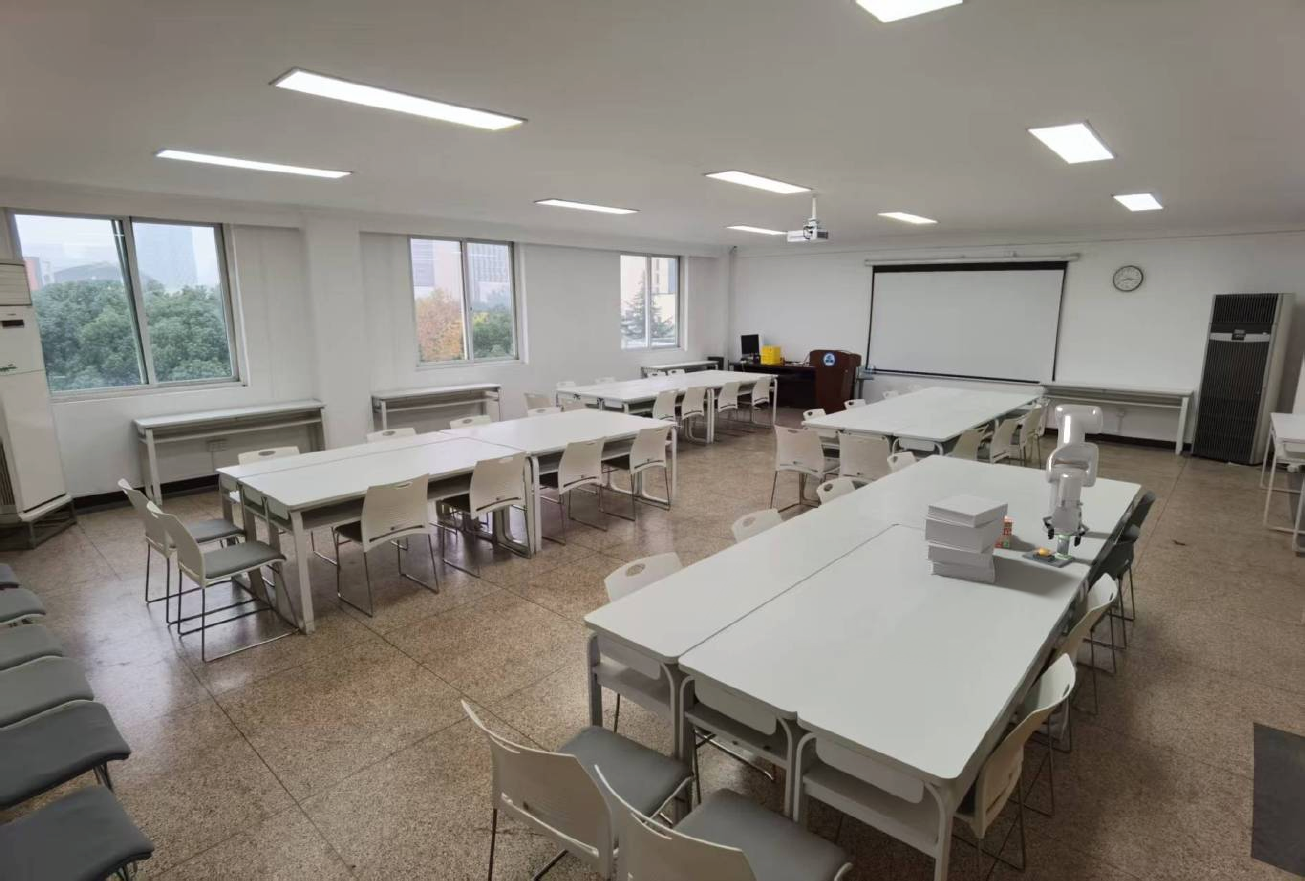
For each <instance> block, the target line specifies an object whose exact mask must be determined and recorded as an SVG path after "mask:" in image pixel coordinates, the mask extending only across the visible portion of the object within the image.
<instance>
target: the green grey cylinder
mask: <svg viewBox="0 0 1305 881" xmlns="http://www.w3.org/2000/svg"><path fill="white" fill-rule="evenodd" d="M1070 541H1071V535H1067V534H1059V535H1058V538H1057V547H1056V552H1057V553H1056V556H1057V557H1060V558H1067V557H1068V555H1069V551H1070V550H1069V548H1070Z"/></svg>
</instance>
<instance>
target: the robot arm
mask: <svg viewBox="0 0 1305 881" xmlns="http://www.w3.org/2000/svg"><path fill="white" fill-rule="evenodd" d="M1053 414H1054V415H1053V416H1054V419H1055V423H1056V425H1057V429H1058V430H1057V431H1058V434H1057V435H1058V436H1057V444H1056V448H1055V449H1053V450H1052V451H1051V452H1050V454H1049V456H1048V458H1047V460H1046V465H1045V466H1046V467H1045V480H1046V482H1047V483H1048V484H1050V494H1049V502H1048V512H1047V516H1044V517H1042V522H1043V523H1044V524H1043V526H1042V531H1044V532H1045V533H1047V537H1048V540H1049V541H1050V540H1053V539H1054V538H1055V535H1058V536H1059V534H1067V535H1069V536H1071V535H1075V537H1074V539H1073V540H1074V541H1073V547H1075V548H1076V547H1078V546H1079V545H1081V541H1082V537H1083V536H1085V535H1086V534H1088V532H1090V530H1091V528H1090V527H1089V526H1087V525H1086V524H1084V523H1083V511H1082V507H1083V506H1084V502H1082V501H1081V494H1082V493H1081V492H1082V488H1093V487H1094V486H1095V484H1096V480H1097V473H1098V465H1099V455H1100V451H1099V446H1098V445H1097V444H1096V443H1095V442H1094V443H1093V442H1089V441H1088V442H1087V441H1085V438H1086V436H1085V435H1086V434H1095V435H1096V434H1099V433H1101V432H1102V430H1103V426H1104V419H1103V418H1104V417H1103V416H1104V415H1103V411H1102V409H1101V406H1096V405H1083V404H1067V403H1065V404H1059V405H1057V406H1055V408H1054V412H1053ZM1056 460H1059V461H1060V462H1061V461H1062V462H1067V463H1074V464H1067V463H1060V464H1059V463H1058V464H1055V462H1056ZM1075 463H1077V464H1084V465H1075ZM1082 529H1083V531H1081V530H1082Z"/></svg>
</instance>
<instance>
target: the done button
mask: <svg viewBox="0 0 1305 881" xmlns="http://www.w3.org/2000/svg"><path fill="white" fill-rule="evenodd" d="M1049 550H1050V549H1047V550H1046V548H1044V549H1039V555H1040V556H1043V557H1049V552H1050V551H1049Z"/></svg>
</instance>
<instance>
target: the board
mask: <svg viewBox="0 0 1305 881" xmlns="http://www.w3.org/2000/svg"><path fill="white" fill-rule="evenodd" d="M1039 549H1046V548H1043V547H1038V548H1037V547H1036V548H1034V549H1032V550H1030V551H1028V552H1026V553H1023V554H1022V555H1021V557H1022V558H1023V557H1024V559H1026V558H1027V559H1026V560H1030V561H1033V560H1034V561H1033V562H1037V563H1041V564H1045V565H1048V566H1052V567H1054V568H1055V567H1056V568H1060V567H1062V566H1064V565H1067V564H1069V563H1070V562H1072V561H1074V559H1075V560H1076V557H1075V556H1073V555H1069V554H1068V557H1067V558H1060V557H1057V556H1056V553H1057V551H1054V550H1050V549H1048V548H1047V549H1046V550H1049V551H1050V552H1049V557H1043V556H1040V555H1039Z"/></svg>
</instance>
